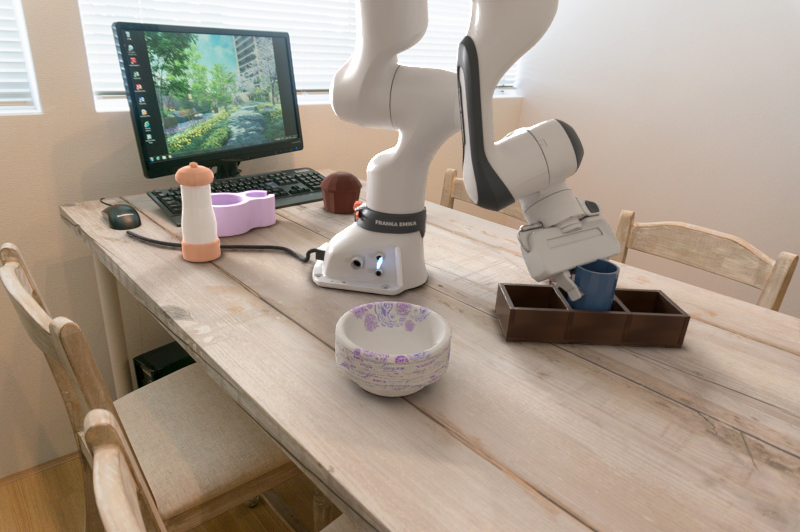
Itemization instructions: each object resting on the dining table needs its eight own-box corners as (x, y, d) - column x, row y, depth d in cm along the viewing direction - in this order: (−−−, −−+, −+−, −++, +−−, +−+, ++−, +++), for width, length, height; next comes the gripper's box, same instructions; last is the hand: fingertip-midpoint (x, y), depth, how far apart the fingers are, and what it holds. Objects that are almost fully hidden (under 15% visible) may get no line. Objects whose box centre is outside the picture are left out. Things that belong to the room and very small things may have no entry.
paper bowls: (356, 423, 63) (358, 366, 60) (321, 357, 75) (321, 308, 72) (467, 398, 69) (474, 344, 66) (417, 340, 81) (421, 294, 78)
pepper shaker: (191, 264, 104) (181, 168, 97) (177, 253, 109) (167, 160, 102) (226, 257, 108) (219, 164, 101) (211, 247, 113) (204, 157, 106)
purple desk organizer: (259, 213, 138) (258, 187, 135) (284, 226, 129) (283, 198, 127) (182, 226, 125) (179, 197, 122) (204, 241, 117) (201, 210, 114)
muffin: (343, 217, 138) (343, 179, 134) (311, 209, 144) (310, 172, 140) (369, 208, 148) (371, 172, 144) (339, 200, 153) (339, 166, 149)
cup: (571, 330, 84) (583, 273, 81) (558, 310, 91) (569, 256, 87) (613, 332, 85) (627, 274, 81) (597, 312, 91) (609, 258, 87)
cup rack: (505, 341, 83) (510, 309, 81) (494, 312, 92) (498, 282, 90) (681, 348, 84) (690, 316, 82) (653, 318, 93) (660, 289, 91)
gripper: (526, 217, 80) (568, 300, 77) (604, 201, 92) (644, 273, 88) (501, 236, 85) (539, 315, 82) (578, 219, 97) (615, 287, 93)
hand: (594, 293), depth 85 cm, fingers closed on cup, 7 cm apart
